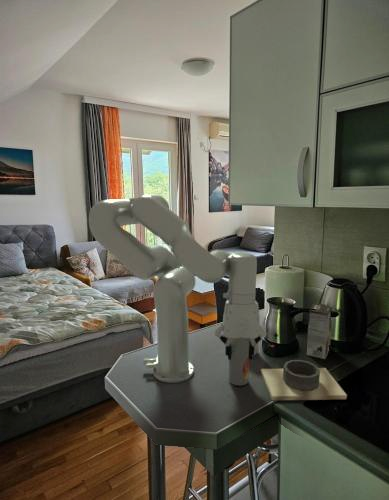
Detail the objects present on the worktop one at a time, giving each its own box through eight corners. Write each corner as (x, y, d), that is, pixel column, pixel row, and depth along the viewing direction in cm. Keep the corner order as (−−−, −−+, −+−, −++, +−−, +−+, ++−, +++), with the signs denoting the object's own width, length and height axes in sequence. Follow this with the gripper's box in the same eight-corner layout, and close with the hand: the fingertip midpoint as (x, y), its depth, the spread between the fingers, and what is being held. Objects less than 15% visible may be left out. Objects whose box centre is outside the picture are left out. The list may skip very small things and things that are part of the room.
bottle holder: (272, 400, 88) (272, 382, 87) (260, 372, 101) (261, 356, 101) (346, 399, 88) (347, 381, 87) (325, 371, 102) (326, 355, 101)
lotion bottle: (251, 378, 98) (253, 314, 94) (243, 388, 93) (245, 321, 89) (233, 373, 100) (235, 311, 97) (225, 382, 96) (226, 317, 92)
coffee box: (311, 344, 120) (313, 302, 118) (330, 348, 117) (333, 305, 114) (305, 355, 112) (308, 309, 110) (325, 359, 109) (328, 313, 107)
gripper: (212, 301, 88) (210, 363, 91) (275, 301, 89) (272, 364, 92) (210, 293, 96) (209, 351, 99) (268, 293, 96) (265, 351, 99)
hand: (239, 356), depth 95 cm, fingers closed on lotion bottle, 5 cm apart
